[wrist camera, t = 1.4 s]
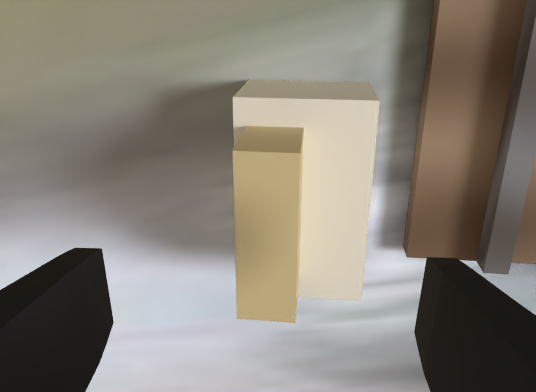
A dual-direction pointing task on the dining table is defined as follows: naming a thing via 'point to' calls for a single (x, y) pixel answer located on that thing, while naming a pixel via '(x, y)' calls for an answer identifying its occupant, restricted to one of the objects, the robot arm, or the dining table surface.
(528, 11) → the grey brown open tray
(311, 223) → the large cream box
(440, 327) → the robot arm
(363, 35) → the dining table surface
